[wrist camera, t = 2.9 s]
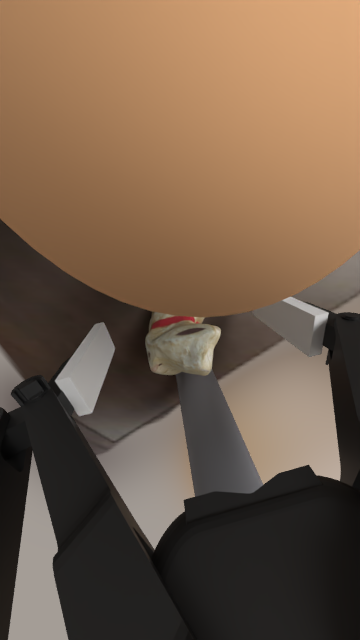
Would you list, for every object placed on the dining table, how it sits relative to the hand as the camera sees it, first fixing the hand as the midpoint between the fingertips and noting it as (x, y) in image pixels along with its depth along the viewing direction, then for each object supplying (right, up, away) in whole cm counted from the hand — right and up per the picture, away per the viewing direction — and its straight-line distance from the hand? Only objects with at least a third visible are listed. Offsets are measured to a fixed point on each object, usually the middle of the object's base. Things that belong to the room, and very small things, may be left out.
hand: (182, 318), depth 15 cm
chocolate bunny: (0, +2, +3) cm, 3 cm away
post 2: (+1, -5, +6) cm, 8 cm away
